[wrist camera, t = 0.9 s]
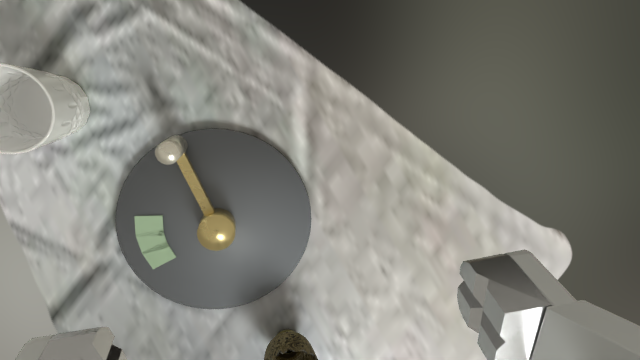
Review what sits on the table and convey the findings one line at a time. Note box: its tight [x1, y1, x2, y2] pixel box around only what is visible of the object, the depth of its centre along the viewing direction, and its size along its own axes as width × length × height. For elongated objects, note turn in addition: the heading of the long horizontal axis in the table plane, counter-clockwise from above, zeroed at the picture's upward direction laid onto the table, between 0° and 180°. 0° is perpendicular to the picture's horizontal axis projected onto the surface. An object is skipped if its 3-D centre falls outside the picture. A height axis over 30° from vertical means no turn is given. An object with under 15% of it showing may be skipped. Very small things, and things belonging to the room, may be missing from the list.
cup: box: [264, 329, 318, 360], centre depth 51 cm, size 8×7×8 cm
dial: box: [116, 129, 311, 309], centre depth 49 cm, size 24×24×1 cm
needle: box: [155, 135, 236, 251], centre depth 44 cm, size 14×4×6 cm, turn 22°
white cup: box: [0, 63, 90, 154], centre depth 38 cm, size 8×8×10 cm
